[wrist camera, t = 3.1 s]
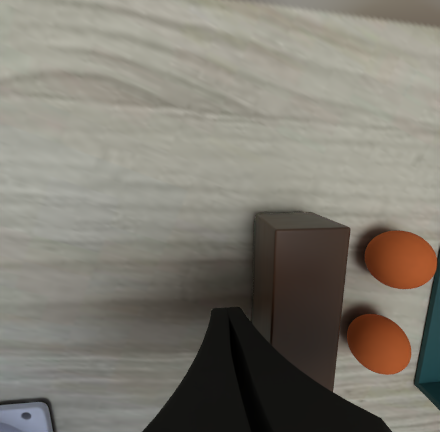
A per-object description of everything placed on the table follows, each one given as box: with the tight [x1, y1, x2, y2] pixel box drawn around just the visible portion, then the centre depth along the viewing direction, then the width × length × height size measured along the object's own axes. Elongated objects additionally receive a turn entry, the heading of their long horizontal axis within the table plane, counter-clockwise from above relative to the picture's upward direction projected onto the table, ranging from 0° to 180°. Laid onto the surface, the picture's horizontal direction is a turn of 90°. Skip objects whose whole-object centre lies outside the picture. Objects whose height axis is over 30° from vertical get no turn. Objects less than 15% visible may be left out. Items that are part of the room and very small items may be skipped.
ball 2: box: [347, 314, 411, 375], centre depth 13 cm, size 3×3×3 cm
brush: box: [252, 211, 350, 392], centre depth 12 cm, size 3×10×4 cm, turn 1°
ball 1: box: [365, 231, 437, 289], centre depth 12 cm, size 3×3×3 cm
